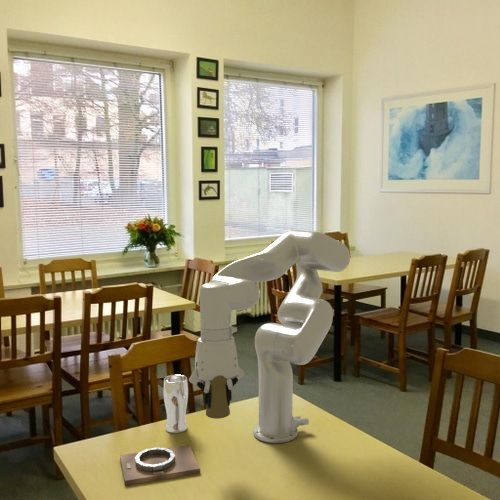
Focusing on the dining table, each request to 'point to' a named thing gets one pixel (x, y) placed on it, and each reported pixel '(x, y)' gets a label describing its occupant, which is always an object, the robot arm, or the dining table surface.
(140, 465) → the hub ring
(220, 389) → the cork
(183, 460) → the board
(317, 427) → the dining table surface
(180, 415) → the beer glass
